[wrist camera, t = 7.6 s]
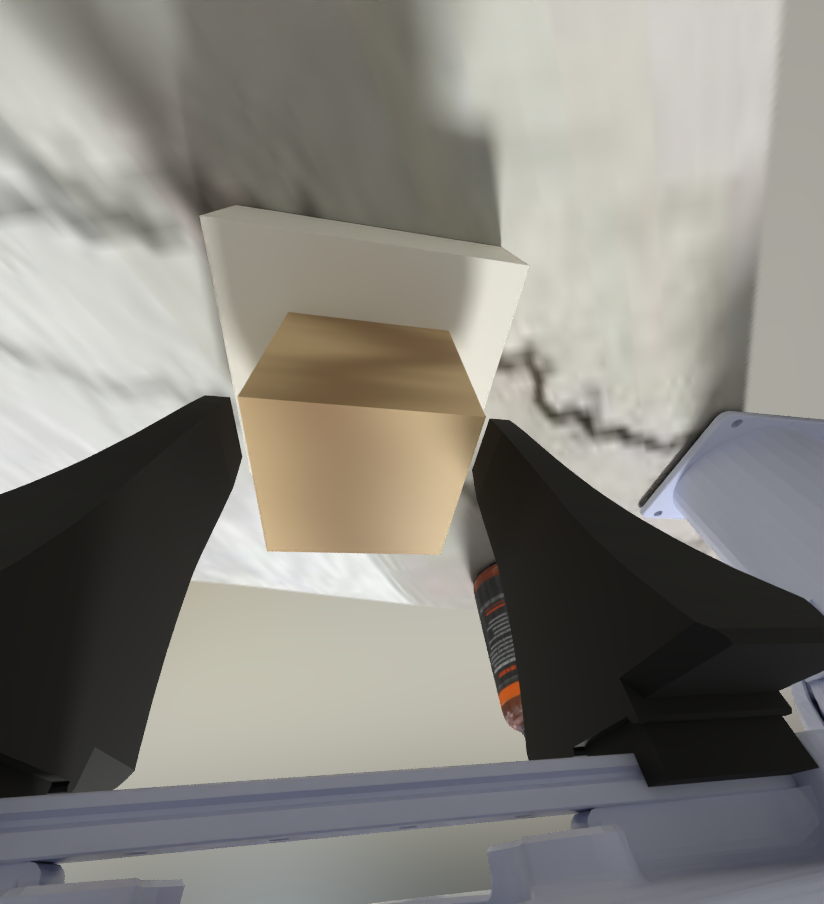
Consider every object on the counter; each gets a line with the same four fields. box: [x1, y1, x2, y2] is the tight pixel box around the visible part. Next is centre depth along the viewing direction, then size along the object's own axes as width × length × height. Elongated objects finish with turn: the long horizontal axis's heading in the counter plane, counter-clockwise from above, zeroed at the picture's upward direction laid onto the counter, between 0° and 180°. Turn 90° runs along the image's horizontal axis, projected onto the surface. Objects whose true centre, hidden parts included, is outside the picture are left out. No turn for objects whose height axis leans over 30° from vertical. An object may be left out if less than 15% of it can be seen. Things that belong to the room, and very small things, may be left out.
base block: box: [200, 205, 530, 474], centre depth 14 cm, size 9×9×3 cm
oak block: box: [238, 312, 486, 555], centre depth 11 cm, size 5×5×5 cm
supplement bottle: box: [474, 564, 525, 737], centre depth 23 cm, size 6×6×11 cm
